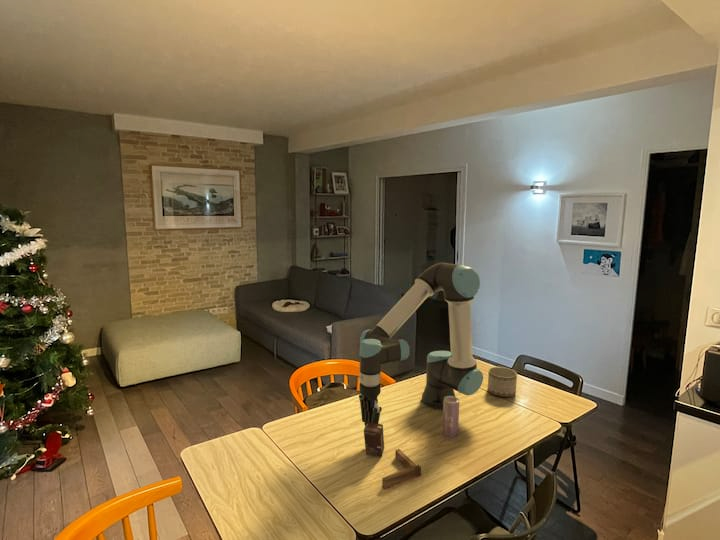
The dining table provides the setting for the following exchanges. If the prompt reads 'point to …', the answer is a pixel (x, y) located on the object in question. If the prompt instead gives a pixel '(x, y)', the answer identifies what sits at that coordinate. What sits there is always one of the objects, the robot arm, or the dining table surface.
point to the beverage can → (450, 417)
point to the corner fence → (405, 475)
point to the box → (374, 439)
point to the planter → (502, 381)
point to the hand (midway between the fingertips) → (369, 443)
